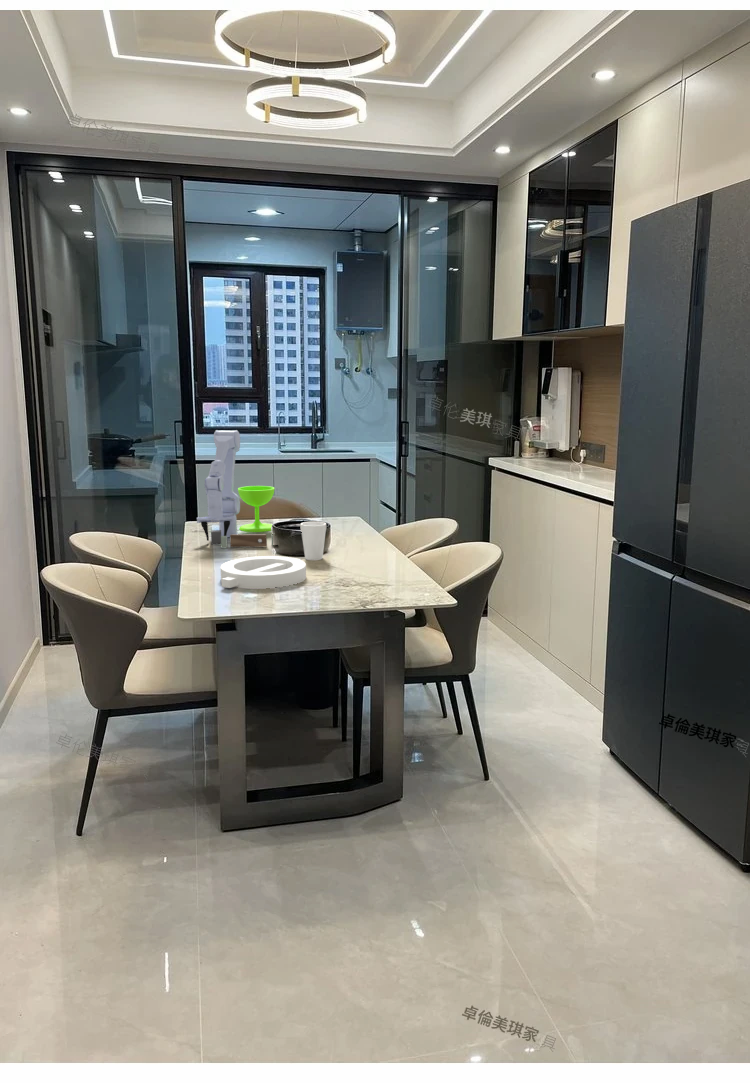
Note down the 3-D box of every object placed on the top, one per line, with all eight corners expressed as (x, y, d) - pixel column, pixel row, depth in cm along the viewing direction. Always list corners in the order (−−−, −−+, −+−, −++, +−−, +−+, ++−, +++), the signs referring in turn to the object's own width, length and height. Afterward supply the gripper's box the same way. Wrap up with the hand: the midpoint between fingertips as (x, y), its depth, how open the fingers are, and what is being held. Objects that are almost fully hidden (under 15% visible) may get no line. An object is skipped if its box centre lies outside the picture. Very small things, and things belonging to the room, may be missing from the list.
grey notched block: (211, 540, 325) (210, 528, 324) (221, 540, 326) (220, 528, 325) (211, 544, 317) (210, 532, 316) (221, 544, 318) (221, 531, 317)
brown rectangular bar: (231, 546, 313) (230, 534, 312) (266, 545, 314) (266, 534, 313) (230, 547, 310) (229, 535, 309) (266, 547, 311) (266, 535, 310)
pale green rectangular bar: (221, 547, 312) (220, 536, 311) (278, 545, 317) (277, 533, 316) (221, 548, 311) (220, 536, 310) (278, 545, 315) (278, 534, 314)
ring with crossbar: (221, 592, 248) (220, 577, 247) (220, 571, 275) (220, 557, 274) (310, 587, 253) (310, 573, 253) (301, 567, 280) (301, 554, 279)
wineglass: (283, 527, 354) (282, 487, 350) (259, 533, 340) (258, 491, 337) (255, 524, 362) (254, 485, 358) (231, 529, 349) (230, 489, 345)
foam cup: (296, 557, 294) (295, 523, 291) (317, 554, 299) (317, 520, 297) (310, 562, 287) (309, 527, 284) (331, 559, 292) (331, 524, 289)
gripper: (196, 508, 312) (197, 542, 314) (233, 507, 314) (234, 541, 317) (196, 505, 318) (198, 539, 321) (233, 504, 321) (234, 537, 324)
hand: (216, 539), depth 320 cm, fingers open, 6 cm apart
